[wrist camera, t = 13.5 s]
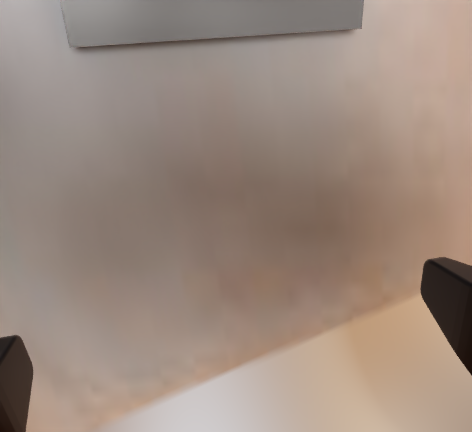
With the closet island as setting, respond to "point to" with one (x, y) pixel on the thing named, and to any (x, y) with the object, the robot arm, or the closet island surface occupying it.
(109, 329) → the closet island surface
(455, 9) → the closet island surface
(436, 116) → the closet island surface
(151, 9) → the post stand
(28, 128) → the closet island surface
